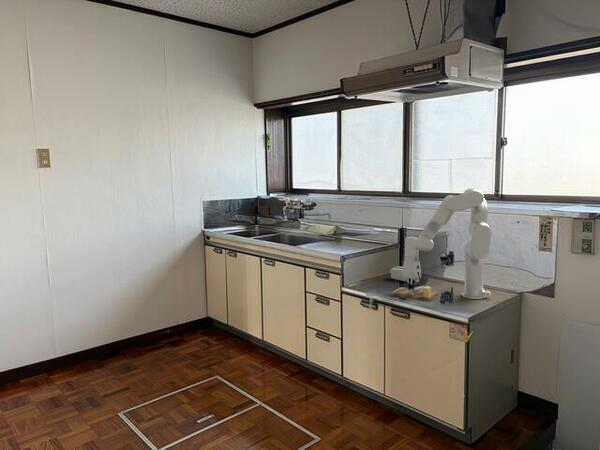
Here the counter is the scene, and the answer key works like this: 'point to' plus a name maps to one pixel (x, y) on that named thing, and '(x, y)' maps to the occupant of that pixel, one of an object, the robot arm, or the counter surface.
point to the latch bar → (417, 290)
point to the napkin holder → (397, 273)
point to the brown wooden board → (406, 293)
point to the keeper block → (426, 291)
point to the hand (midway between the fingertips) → (411, 290)
